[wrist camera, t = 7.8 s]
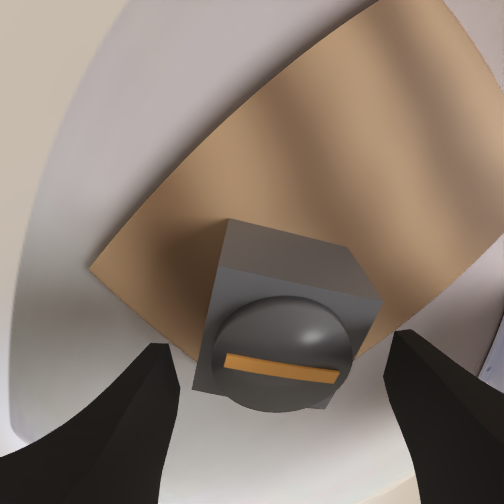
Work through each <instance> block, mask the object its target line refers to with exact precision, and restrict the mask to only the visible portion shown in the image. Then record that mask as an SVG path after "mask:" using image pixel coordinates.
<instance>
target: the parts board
mask: <svg viewBox="0 0 504 504" xmlns="http://www.w3.org/2000/svg"><path fill="white" fill-rule="evenodd" d="M229 218H231V219H235V220H240V221H244V222H248V223H252V224H257V225H261V226H265V227H269V228H273V229H277V230H281V231H285V232H289V233H294V234H298V235H302V236H306V237H310V238H314V239H318V240H322V241H325V242H329V243H333V244H337V245H341V246H345V247H348V249H349V250H350V251H351V253H352V254H353V256H354V257H355V259H356V260H357V262H358V263H359V265H360V266H361V268H362V269H363V271H364V272H365V274H366V275H367V277H368V278H369V280H370V281H371V283H372V284H373V286H374V287H375V289H376V290H377V292H378V293H379V295H380V297H381V298H382V300H383V301H384V302H383V304H382V306H381V308H380V310H379V312H378V314H377V316H376V318H375V320H374V322H373V324H372V326H371V328H370V330H369V332H368V334H367V336H366V338H365V340H364V342H363V344H362V345H361V347H360V349H359V351H358V353H357V355H356V357H355V358H354V359H356V358H357V357H359V356H360V355H361V354H363V353H364V352H366V351H367V350H369V349H370V348H371V347H373V346H374V345H375V344H377V343H378V342H380V341H381V340H382V339H384V338H385V337H386V336H388V335H389V334H390V333H392V332H393V331H394V330H396V329H397V328H398V327H400V326H401V325H402V324H403V323H405V322H406V321H407V320H408V319H410V318H411V317H412V316H414V315H415V314H416V313H417V312H418V311H420V310H421V309H422V308H423V307H425V306H426V305H427V304H428V303H429V302H431V301H432V300H433V299H434V298H435V297H436V296H438V295H439V294H440V293H441V292H442V291H443V290H445V289H446V288H447V287H448V286H449V285H450V284H451V283H452V282H454V281H455V280H456V279H457V278H458V277H459V276H460V275H461V274H462V273H463V272H464V271H466V270H467V269H468V268H469V267H470V266H471V265H472V264H473V263H474V262H475V261H476V260H477V259H478V258H479V257H480V256H481V255H482V254H483V253H484V252H485V251H486V250H487V249H488V248H489V247H490V246H491V245H492V244H493V243H494V242H495V241H496V240H497V239H498V238H499V237H500V236H501V235H502V234H503V233H504V94H503V92H502V90H501V88H500V86H499V85H498V83H497V81H496V79H495V77H494V75H493V74H492V72H491V70H490V68H489V67H488V65H487V63H486V62H485V60H484V58H483V57H482V55H481V54H480V52H479V50H478V49H477V47H476V46H475V44H474V43H473V41H472V40H471V38H470V37H469V35H468V34H467V32H466V31H465V29H464V28H463V27H462V25H461V24H460V22H459V21H458V20H457V18H456V17H455V16H454V14H453V13H452V12H451V10H450V9H449V8H448V6H447V5H446V4H445V3H444V1H443V0H379V1H377V2H376V3H374V4H373V5H371V6H369V7H368V8H366V9H365V10H363V11H362V12H360V13H359V14H357V15H356V16H354V17H353V18H352V19H350V20H349V21H347V22H346V23H344V24H343V25H341V26H340V27H339V28H337V29H336V30H334V31H333V32H332V33H330V34H329V35H328V36H326V37H325V38H323V39H322V40H321V41H319V42H318V43H317V44H315V45H314V46H313V47H311V48H310V49H309V50H308V51H306V52H305V53H304V54H302V55H301V56H300V57H299V58H297V59H296V60H295V61H293V62H292V63H291V64H290V65H288V66H287V67H286V68H285V69H284V70H282V71H281V72H280V73H279V74H277V75H276V76H275V77H274V78H273V79H271V80H270V81H269V82H268V83H267V84H266V85H264V86H263V87H262V88H261V89H260V90H258V91H257V92H256V93H255V94H254V95H253V96H252V97H250V98H249V99H248V100H247V101H246V102H245V103H244V104H243V105H241V106H240V107H239V108H238V109H237V110H236V111H235V112H234V113H233V114H231V115H230V116H229V117H228V118H227V119H226V120H225V121H224V122H223V123H222V124H221V125H220V126H219V127H217V128H216V129H215V130H214V131H213V132H212V133H211V134H210V135H209V136H208V137H207V138H206V139H205V140H204V141H203V142H202V143H201V144H200V145H199V146H198V147H197V148H196V149H195V150H194V151H193V152H192V153H191V154H190V155H189V156H188V157H187V158H186V159H185V160H184V161H183V162H182V163H181V164H180V165H179V166H178V167H177V168H176V169H175V170H174V171H173V172H172V173H171V174H170V175H169V176H168V177H167V178H166V179H165V181H164V182H163V183H162V184H161V185H160V186H159V187H158V188H157V189H156V190H155V191H154V192H153V193H152V195H151V196H150V197H149V198H148V199H147V200H146V201H145V202H144V203H143V204H142V206H141V207H140V208H139V209H138V210H137V211H136V212H135V213H134V215H133V216H132V217H131V218H130V219H129V220H128V222H127V223H126V224H125V225H124V226H123V227H122V229H121V230H120V231H119V232H118V233H117V234H116V236H115V237H114V238H113V239H112V240H111V242H110V243H109V244H108V245H107V246H106V248H105V249H104V250H103V251H102V253H101V254H100V255H99V256H98V258H97V259H96V260H95V261H94V263H93V264H92V265H91V266H90V268H89V269H88V270H89V271H90V272H91V273H93V274H94V275H95V276H96V277H97V278H98V279H99V280H100V281H101V282H102V283H103V284H104V285H105V286H106V287H108V288H109V289H110V290H111V291H112V292H113V293H114V294H115V295H116V296H117V297H119V298H120V299H121V300H122V301H123V302H124V303H125V304H126V305H128V306H129V307H130V308H131V309H132V310H133V311H134V312H136V313H137V314H138V315H139V316H140V317H142V318H143V319H144V320H145V321H146V322H147V323H149V324H150V325H151V326H152V327H153V328H155V329H156V330H157V331H158V332H160V333H161V334H162V335H163V336H164V337H166V338H167V339H168V340H169V341H171V342H172V343H173V344H174V345H176V346H177V347H178V348H180V349H181V350H182V351H183V352H185V353H186V354H187V355H189V356H190V357H191V358H193V359H194V360H195V361H198V356H199V351H200V346H201V342H202V337H203V332H204V327H205V323H206V318H207V313H208V309H209V304H210V299H211V295H212V290H213V286H214V281H215V277H216V272H217V268H218V264H219V259H220V255H221V251H222V246H223V242H224V238H225V233H226V229H227V225H228V221H229Z"/></svg>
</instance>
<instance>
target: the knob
mask: <svg viewBox="0 0 504 504" xmlns="http://www.w3.org/2000/svg"><path fill="white" fill-rule="evenodd" d="M383 302H384V301H383V300H382V298H381V297H380V295H379V293H378V292H377V290H376V289H375V287H374V286H373V284H372V283H371V281H370V280H369V278H368V277H367V275H366V274H365V272H364V271H363V269H362V268H361V266H360V265H359V263H358V262H357V260H356V259H355V257H354V256H353V254H352V253H351V251H350V250H349V249H348V247H345V246H341V245H337V244H333V243H329V242H325V241H322V240H318V239H314V238H310V237H306V236H302V235H298V234H294V233H289V232H285V231H281V230H277V229H273V228H269V227H265V226H261V225H257V224H252V223H248V222H244V221H240V220H235V219H231V218H229V221H228V225H227V229H226V233H225V238H224V242H223V246H222V251H221V255H220V259H219V264H218V268H217V272H216V277H215V281H214V286H213V290H212V295H211V299H210V304H209V309H208V313H207V318H206V323H205V327H204V332H203V337H202V342H201V346H200V351H199V356H198V361H197V366H196V371H195V376H194V381H193V386H192V390H196V391H201V392H206V393H211V394H216V395H221V396H227V397H229V398H230V399H231V400H233V401H234V402H236V403H238V404H240V405H242V406H244V407H247V408H250V409H253V410H257V411H263V412H273V413H281V412H291V411H297V410H300V409H304V408H314V409H325V408H326V406H327V404H328V403H329V401H330V400H331V398H332V396H333V395H334V393H335V391H336V390H337V389H338V388H339V387H340V386H341V385H342V384H343V383H344V381H345V380H346V378H347V376H348V374H349V372H350V370H351V367H352V362H353V360H354V358H355V357H356V355H357V353H358V351H359V349H360V347H361V345H362V344H363V342H364V340H365V338H366V336H367V334H368V332H369V330H370V328H371V326H372V324H373V322H374V320H375V318H376V316H377V314H378V312H379V310H380V308H381V306H382V304H383Z"/></svg>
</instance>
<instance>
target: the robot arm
mask: <svg viewBox="0 0 504 504" xmlns="http://www.w3.org/2000/svg"><path fill="white" fill-rule="evenodd" d="M383 378H384V382H385V386H386V390H387V394H388V397H389V401H390V404H391V406H392V409H393V411H394V414H395V417H396V419H397V422H398V424H399V426H400V429H401V432H402V434H403V437H404V439H405V442H406V444H407V447H408V449H409V452H410V455H411V458H412V461H413V465H414V469H415V474H416V478H417V483H418V488H419V494H420V500H421V504H504V316H503V319H502V322H501V324H500V327H499V330H498V332H497V335H496V337H495V340H494V342H493V345H492V347H491V350H490V352H489V354H488V357H487V359H486V361H485V363H484V366H483V368H482V370H481V372H480V374H479V376H478V378H477V377H476V376H474V375H473V374H471V373H470V372H468V371H467V370H465V369H464V368H462V367H461V366H460V365H458V364H457V363H456V362H454V361H453V360H451V359H450V358H449V357H447V356H446V355H445V354H444V353H442V352H441V351H440V350H438V349H437V348H436V347H434V346H433V345H432V344H431V343H429V342H428V341H427V340H425V339H424V338H423V337H421V336H420V335H419V334H417V333H416V332H414V331H413V330H411V329H409V330H401V331H395V332H394V336H393V340H392V344H391V348H390V352H389V356H388V360H387V364H386V368H385V371H384V375H383ZM486 381H488V382H489V384H490V385H491V386H490V385H488V384H486V383H485V382H486ZM179 395H180V385H179V382H178V378H177V374H176V371H175V367H174V363H173V359H172V356H171V352H170V348H169V344H163V343H150V344H149V345H148V346H147V347H146V348H145V349H144V350H143V351H142V353H141V354H140V355H139V356H138V357H137V358H136V359H135V360H134V361H133V362H132V363H131V364H130V365H129V366H128V367H127V368H126V369H125V371H124V372H123V373H122V374H121V375H120V376H119V377H118V378H117V379H116V380H115V381H114V382H113V383H112V384H111V385H110V386H109V387H108V388H107V389H105V390H104V391H103V392H102V393H101V394H100V395H99V396H98V397H97V398H96V399H95V400H94V401H92V402H91V403H90V404H89V405H88V406H87V407H86V408H84V409H83V410H82V411H81V412H79V413H78V414H77V415H75V416H74V417H73V418H71V419H70V420H69V421H67V422H66V423H65V424H63V425H62V426H60V427H58V428H57V429H55V430H54V431H52V432H51V433H49V434H47V435H46V436H44V437H42V438H41V439H39V440H37V441H35V442H34V443H32V444H30V445H28V446H26V447H24V448H22V449H20V450H17V451H15V452H13V453H10V454H8V455H5V456H3V457H0V504H158V497H159V489H160V481H161V475H162V470H163V466H164V462H165V458H166V455H167V451H168V447H169V443H170V439H171V436H172V432H173V428H174V424H175V420H176V416H177V410H178V403H179Z"/></svg>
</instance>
